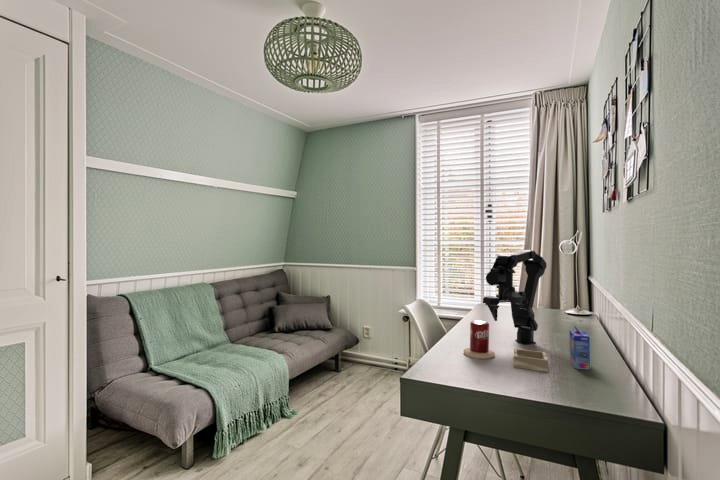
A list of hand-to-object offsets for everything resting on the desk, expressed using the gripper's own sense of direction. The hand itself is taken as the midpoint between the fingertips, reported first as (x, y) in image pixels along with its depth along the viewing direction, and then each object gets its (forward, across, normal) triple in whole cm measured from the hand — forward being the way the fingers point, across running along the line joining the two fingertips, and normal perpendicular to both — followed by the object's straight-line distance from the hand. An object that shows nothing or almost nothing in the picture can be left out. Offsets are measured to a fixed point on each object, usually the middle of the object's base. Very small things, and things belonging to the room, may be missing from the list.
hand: (504, 320), depth 166 cm
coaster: (+12, -16, -5) cm, 21 cm away
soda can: (+11, -16, -5) cm, 20 cm away
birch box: (+12, -5, -21) cm, 25 cm away
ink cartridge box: (+12, +13, -26) cm, 32 cm away
